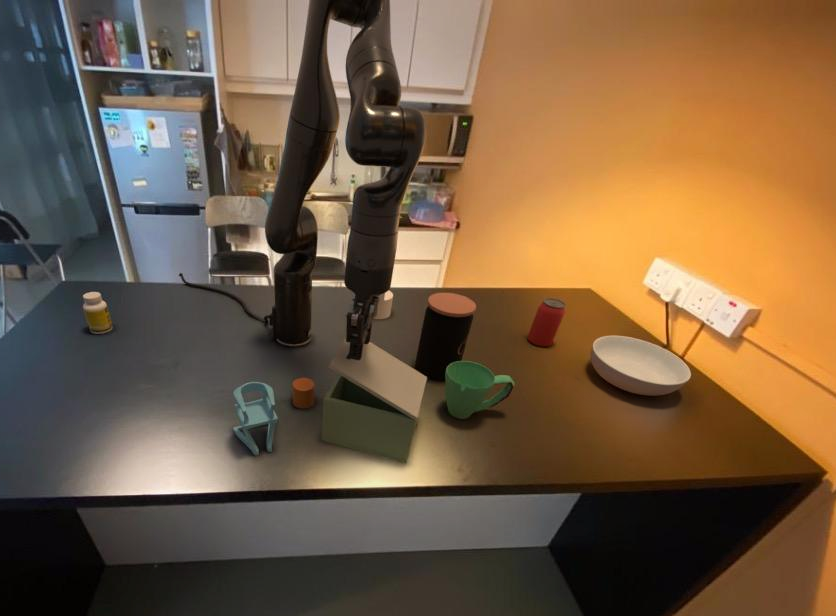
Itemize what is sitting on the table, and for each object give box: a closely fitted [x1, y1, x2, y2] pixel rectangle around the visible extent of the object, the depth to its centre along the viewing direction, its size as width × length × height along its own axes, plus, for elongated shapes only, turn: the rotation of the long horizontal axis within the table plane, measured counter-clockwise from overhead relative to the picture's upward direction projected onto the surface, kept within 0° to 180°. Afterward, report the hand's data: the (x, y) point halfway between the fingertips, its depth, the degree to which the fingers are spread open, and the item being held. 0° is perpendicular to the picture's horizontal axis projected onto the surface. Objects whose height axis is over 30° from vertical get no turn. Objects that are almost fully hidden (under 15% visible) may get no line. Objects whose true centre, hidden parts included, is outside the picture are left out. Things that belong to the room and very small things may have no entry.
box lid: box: [327, 329, 428, 420], centre depth 76 cm, size 18×13×5 cm
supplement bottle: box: [82, 291, 114, 335], centre depth 109 cm, size 5×5×10 cm
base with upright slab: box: [374, 289, 394, 320], centre depth 125 cm, size 9×9×12 cm
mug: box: [444, 360, 515, 420], centre depth 90 cm, size 15×10×10 cm
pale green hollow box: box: [321, 373, 418, 463], centre depth 83 cm, size 17×13×10 cm
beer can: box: [527, 297, 566, 348], centre depth 116 cm, size 7×7×12 cm
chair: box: [233, 381, 279, 457], centre depth 78 cm, size 8×8×12 cm
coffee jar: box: [415, 292, 477, 381], centre depth 100 cm, size 11×11×18 cm
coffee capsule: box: [292, 377, 315, 410], centre depth 91 cm, size 5×5×5 cm
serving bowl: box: [590, 335, 692, 397], centre depth 104 cm, size 21×21×7 cm
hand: (359, 350), depth 76 cm, fingers closed on box lid, 5 cm apart
